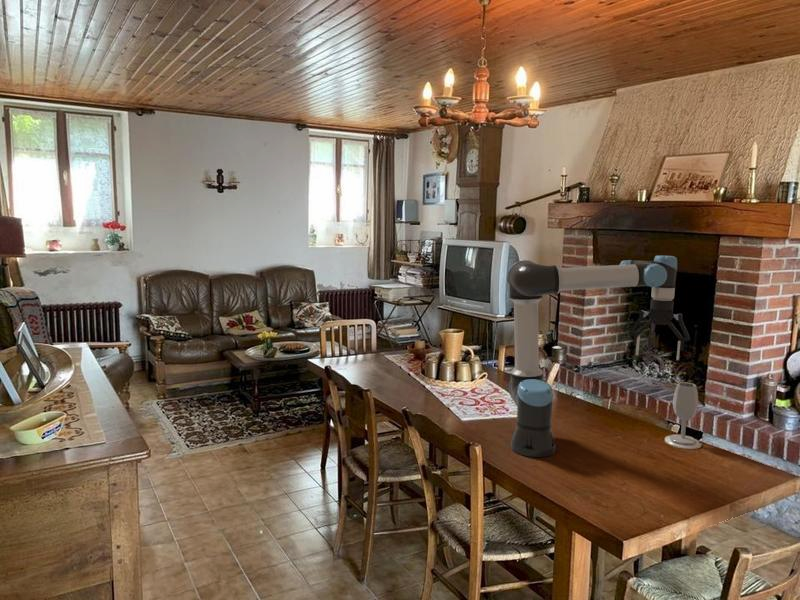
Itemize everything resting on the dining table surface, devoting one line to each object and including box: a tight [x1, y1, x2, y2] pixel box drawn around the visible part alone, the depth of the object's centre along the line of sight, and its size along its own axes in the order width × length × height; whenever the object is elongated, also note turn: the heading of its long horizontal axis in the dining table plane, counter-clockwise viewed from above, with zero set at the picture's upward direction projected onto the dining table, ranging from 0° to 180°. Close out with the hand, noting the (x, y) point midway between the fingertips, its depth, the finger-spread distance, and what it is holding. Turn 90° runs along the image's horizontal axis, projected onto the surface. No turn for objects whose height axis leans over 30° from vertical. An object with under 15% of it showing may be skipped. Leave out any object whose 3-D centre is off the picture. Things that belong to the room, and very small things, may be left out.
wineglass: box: [669, 381, 699, 445], centre depth 214 cm, size 9×9×21 cm
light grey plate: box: [664, 435, 702, 450], centre depth 215 cm, size 12×12×1 cm
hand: (657, 357), depth 216 cm, fingers open, 13 cm apart
